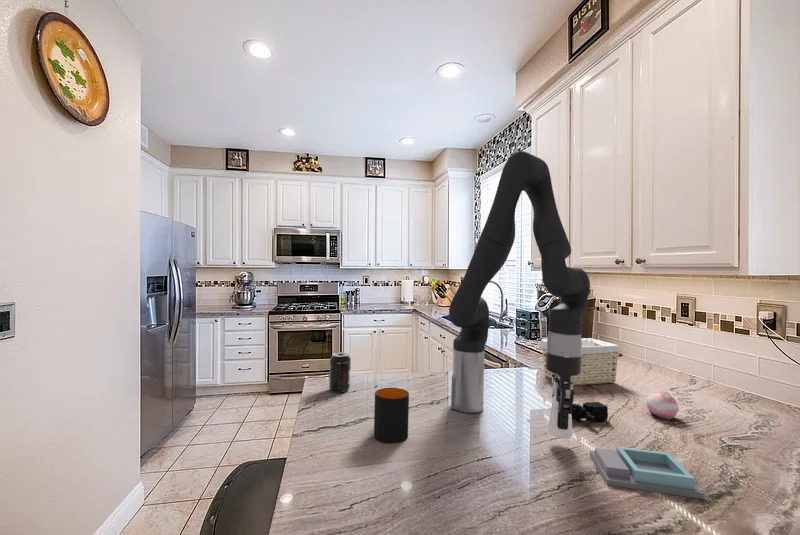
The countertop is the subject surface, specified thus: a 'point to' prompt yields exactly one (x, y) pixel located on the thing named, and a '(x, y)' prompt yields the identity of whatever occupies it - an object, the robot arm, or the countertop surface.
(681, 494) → the grey and blue tray
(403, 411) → the mug
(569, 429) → the salt shaker
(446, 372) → the countertop surface
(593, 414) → the toy
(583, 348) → the storage basket
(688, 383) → the countertop surface
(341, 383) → the beverage can
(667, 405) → the onion
